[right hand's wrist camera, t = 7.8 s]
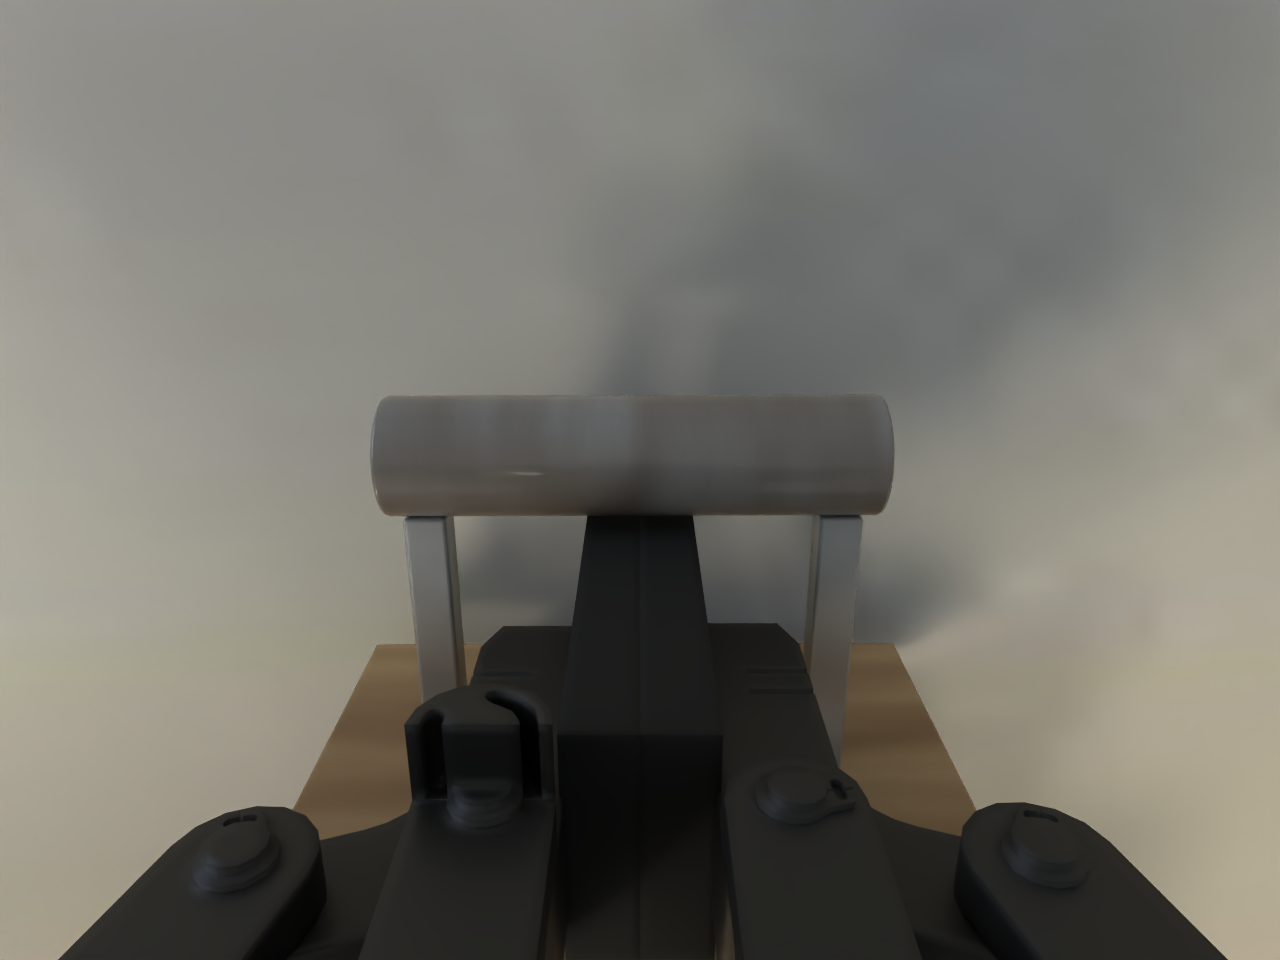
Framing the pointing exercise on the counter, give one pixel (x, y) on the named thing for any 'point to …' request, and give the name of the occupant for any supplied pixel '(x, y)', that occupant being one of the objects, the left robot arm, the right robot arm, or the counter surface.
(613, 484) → the drawer
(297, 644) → the counter surface
